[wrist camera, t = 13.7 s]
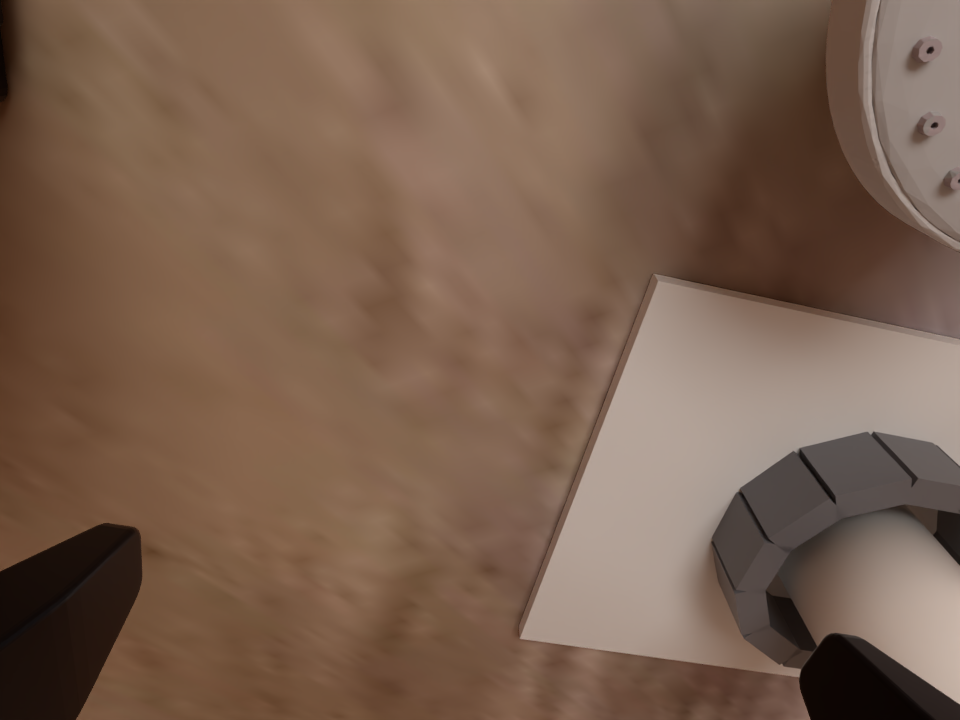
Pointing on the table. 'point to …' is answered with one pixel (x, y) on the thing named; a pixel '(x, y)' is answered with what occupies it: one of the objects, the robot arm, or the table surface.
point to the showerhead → (900, 106)
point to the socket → (741, 473)
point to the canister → (883, 591)
